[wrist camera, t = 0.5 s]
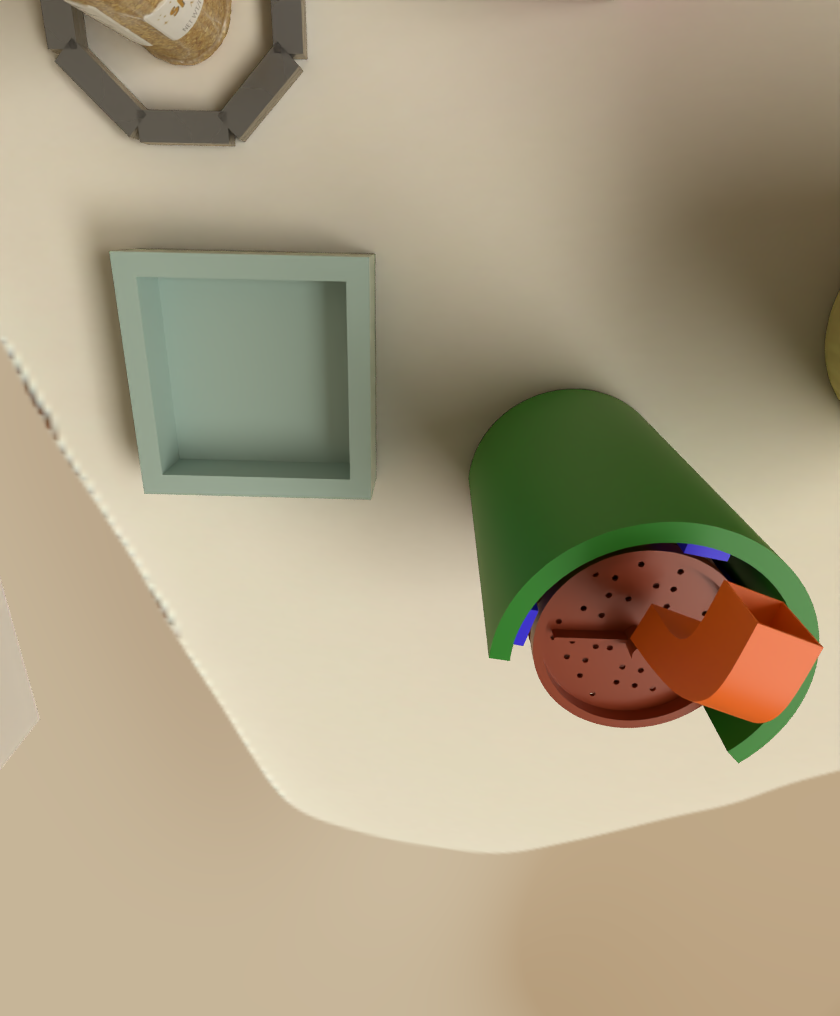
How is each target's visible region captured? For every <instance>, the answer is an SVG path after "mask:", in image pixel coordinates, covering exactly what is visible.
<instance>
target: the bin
mask: <svg viewBox="0 0 840 1016" xmlns="http://www.w3.org/2000/svg"><path fill="white" fill-rule="evenodd" d="M109 253H110V260H111V267H112V274H113V281H114V288H115V295H116V302H117V308H118V315H119V322H120V329H121V336H122V343H123V350H124V357H125V364H126V371H127V377H128V384H129V391H130V398H131V405H132V412H133V419H134V426H135V433H136V440H137V446H138V453H139V460H140V467H141V474H142V481H143V488H144V494H176V495H214V496H252V497H290V498H328V499H365V500H371V499H372V494H373V490H374V486H375V481H376V330H375V254H352V253H307V252H262V251H218V250H173V249H129V250H118V251H109Z"/></svg>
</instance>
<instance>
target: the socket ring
mask: <svg viewBox="0 0 840 1016" xmlns="http://www.w3.org/2000/svg"><path fill="white" fill-rule="evenodd" d="M40 1H41V7H42V14H43V20H44V26H45V32H46V39H47V45H48V49H50V50H52V51H54V52H56V53H59V56H58V57H57V59H56V60H55V62H56V63H57V64H58V65H59V66H60V67H61V68H62V69H63V70H64V71H65V72H66V73H67V74H68V75H69V76H70V77H71V78H72V80H73V81H74V82H75V83H76V84H77V85H78V86H79V87H80V88H81V89H82V90H83V91H84V92H85V93H86V94H87V95H88V96H89V97H90V98H91V99H92V100H93V101H94V102H95V103H96V104H97V105H98V106H99V107H100V108H101V109H102V110H103V111H104V112H105V113H106V114H107V115H108V116H109V117H110V118H111V119H112V120H113V121H114V122H115V123H116V124H117V125H118V126H119V127H120V128H121V129H122V130H123V131H124V132H125V133H126V134H127V135H128V136H129V137H131V138H135V139H138V140H139V139H140V142H142V143H145V144H151V145H199V146H235V136H236V137H237V138H238V139H240V140H242V141H244V142H245V141H246V140H247V139H248V137H249V136H250V135H251V134H252V133H253V131H254V130H255V129H256V128H257V127H258V125H259V124H260V123H261V122H262V121H263V119H264V118H265V117H266V116H267V115H268V113H269V112H270V111H271V110H272V108H273V107H274V106H275V105H276V104H277V102H278V101H279V100H280V99H281V98H282V96H283V95H284V94H285V93H286V92H287V90H288V89H289V88H290V87H291V86H292V84H293V83H294V82H295V81H296V80H297V78H298V77H299V76H300V75H301V73H302V72H303V70H302V69H301V68H300V66H299V65H298V64H297V63H296V62H295V61H294V60H293V59H307V34H306V7H305V0H271V13H272V32H273V47H272V48H271V49H270V51H269V52H268V53H267V54H266V56H265V57H264V58H263V59H262V61H261V62H260V63H259V64H258V65H257V67H256V68H255V69H254V70H253V72H252V73H251V74H250V75H249V77H248V78H247V79H246V80H245V82H244V83H243V84H242V85H241V87H240V88H239V89H238V90H237V92H236V93H235V94H234V95H233V97H232V98H231V99H230V100H229V102H228V103H227V104H226V105H225V107H224V108H223V109H222V110H221V111H179V110H147V108H146V107H145V106H144V105H143V104H142V103H141V102H140V101H139V100H138V99H137V98H136V97H135V96H134V95H133V94H132V93H131V92H130V91H129V90H128V89H127V88H126V87H125V86H124V85H123V84H122V83H121V82H120V81H119V80H118V79H117V77H116V76H115V75H114V74H113V73H112V72H111V71H110V70H109V69H108V68H107V67H106V66H105V65H104V64H103V63H102V62H101V61H100V60H99V59H98V58H97V57H96V56H95V55H94V54H93V53H92V52H91V51H90V50H89V49H88V45H87V38H86V31H85V24H84V17H83V12H82V11H80V10H78V9H77V8H75V7H73V6H72V5H70V4H69V3H67V2H65V1H64V0H40Z"/></svg>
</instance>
